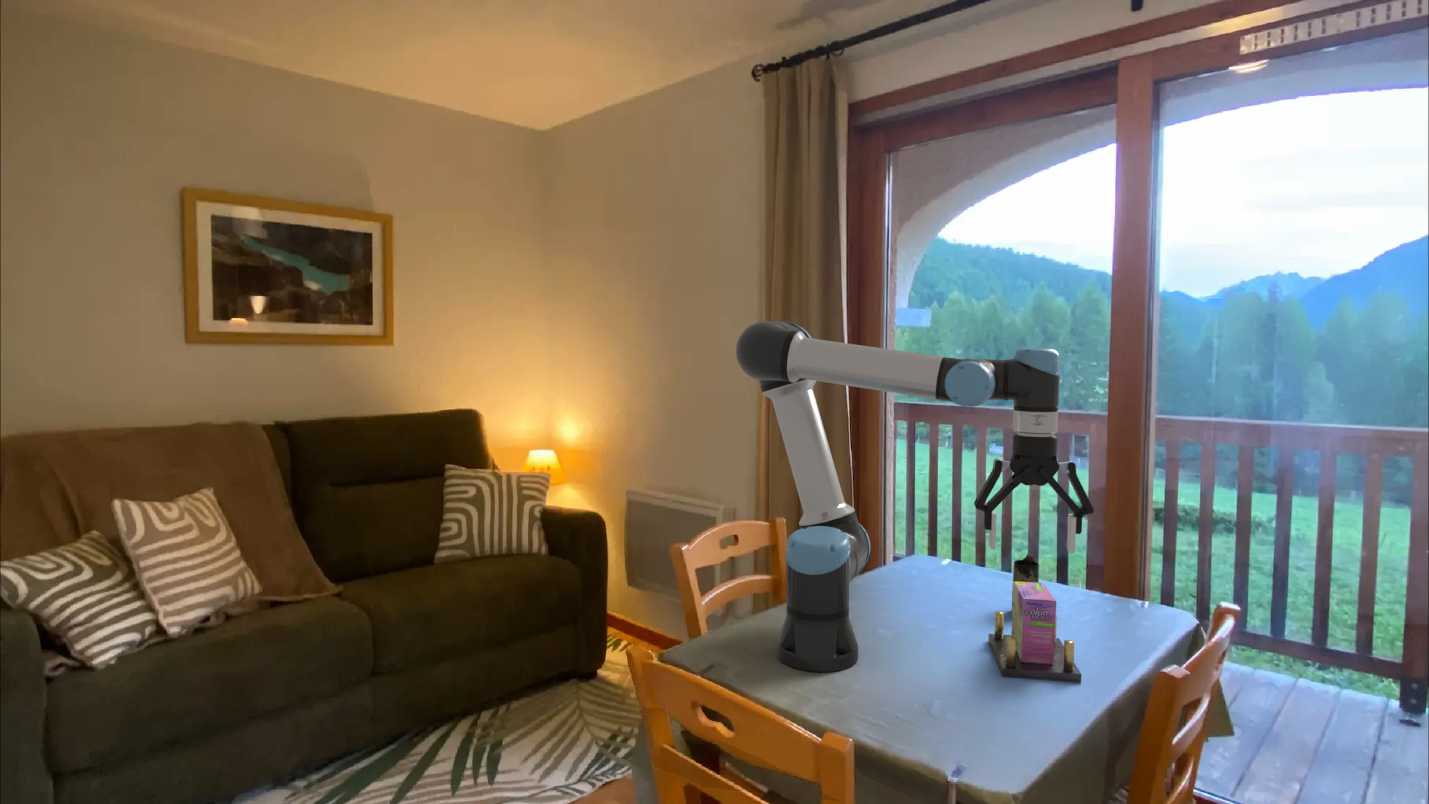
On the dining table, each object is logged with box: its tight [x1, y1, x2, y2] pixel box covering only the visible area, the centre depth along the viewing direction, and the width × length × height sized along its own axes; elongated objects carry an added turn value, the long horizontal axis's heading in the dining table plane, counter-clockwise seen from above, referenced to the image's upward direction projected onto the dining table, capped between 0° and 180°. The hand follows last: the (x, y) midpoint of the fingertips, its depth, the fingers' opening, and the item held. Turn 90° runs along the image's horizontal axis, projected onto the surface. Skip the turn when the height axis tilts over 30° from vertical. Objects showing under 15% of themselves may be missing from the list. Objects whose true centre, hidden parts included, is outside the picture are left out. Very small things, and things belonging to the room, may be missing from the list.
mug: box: [1011, 553, 1040, 602], centre depth 174 cm, size 8×6×12 cm
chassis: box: [987, 610, 1082, 684], centre depth 147 cm, size 13×17×6 cm
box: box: [1010, 581, 1057, 664], centre depth 147 cm, size 10×6×12 cm, turn 169°
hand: (1031, 549), depth 146 cm, fingers open, 13 cm apart
